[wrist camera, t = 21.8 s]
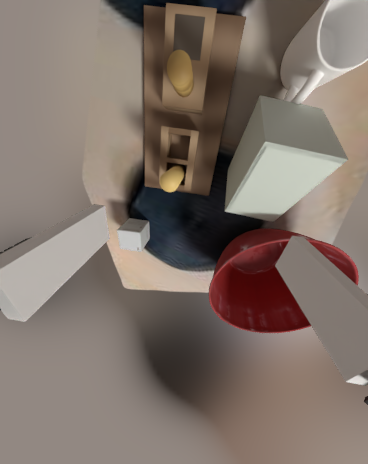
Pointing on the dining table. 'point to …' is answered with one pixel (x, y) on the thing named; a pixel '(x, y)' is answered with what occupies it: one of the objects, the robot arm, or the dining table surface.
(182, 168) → the pin
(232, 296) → the mixing bowl
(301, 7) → the dining table surface
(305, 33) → the mug
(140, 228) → the skincare box
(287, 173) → the tray
